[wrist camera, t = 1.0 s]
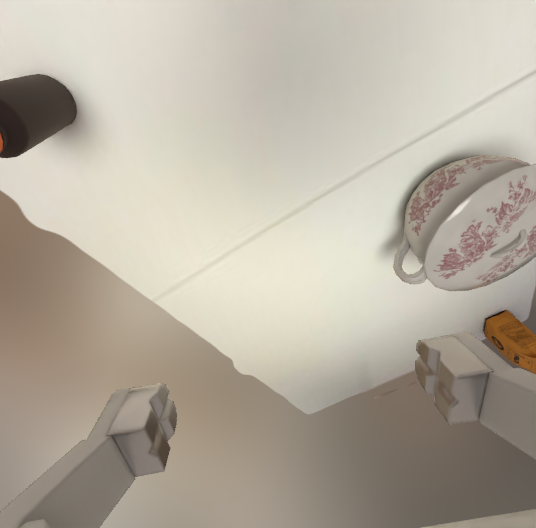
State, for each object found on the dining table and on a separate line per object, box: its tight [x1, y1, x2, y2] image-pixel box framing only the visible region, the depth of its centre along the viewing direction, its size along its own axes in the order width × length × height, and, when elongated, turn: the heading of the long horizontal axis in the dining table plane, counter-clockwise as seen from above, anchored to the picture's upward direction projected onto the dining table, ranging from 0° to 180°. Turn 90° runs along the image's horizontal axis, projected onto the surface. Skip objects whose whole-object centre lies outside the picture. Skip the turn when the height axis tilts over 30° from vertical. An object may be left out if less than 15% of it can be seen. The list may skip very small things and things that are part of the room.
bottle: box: [0, 74, 76, 158], centre depth 33 cm, size 7×7×20 cm
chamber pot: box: [393, 155, 536, 291], centre depth 56 cm, size 28×28×21 cm
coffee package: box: [484, 311, 536, 374], centre depth 95 cm, size 10×12×22 cm
